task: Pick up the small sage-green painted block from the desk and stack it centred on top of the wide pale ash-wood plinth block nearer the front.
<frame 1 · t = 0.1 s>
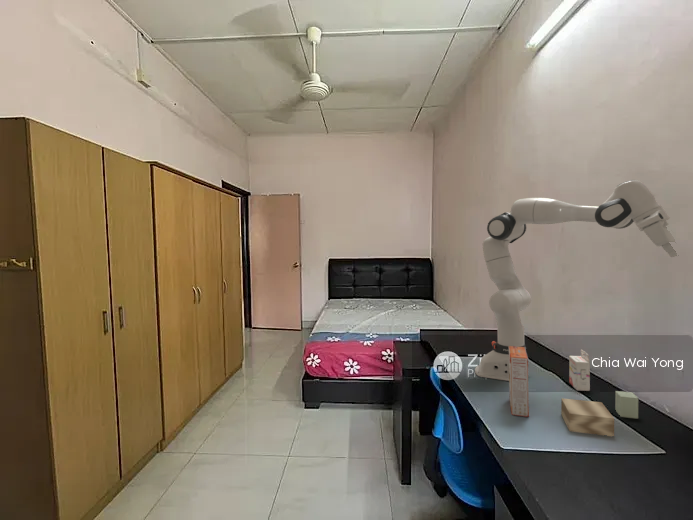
hand: (676, 255, 125), 54 cm above the table, tool tilted 30°, fingers open, 8 cm apart
ash plinth: (586, 425, 122), on the table
sage block: (626, 414, 129), on the table
ink cartridge box: (579, 387, 153), on the table
cracker box: (518, 408, 135), on the table
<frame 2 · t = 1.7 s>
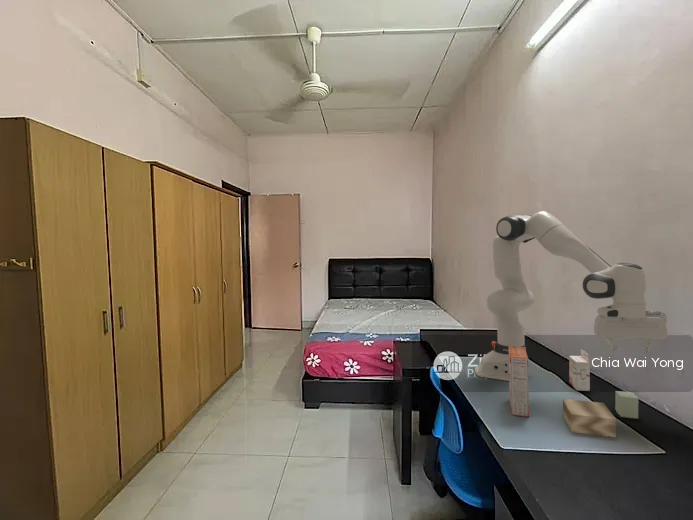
hand: (629, 351, 127), 22 cm above the table, tool pointing down, fingers open, 8 cm apart
nothing on the table moved.
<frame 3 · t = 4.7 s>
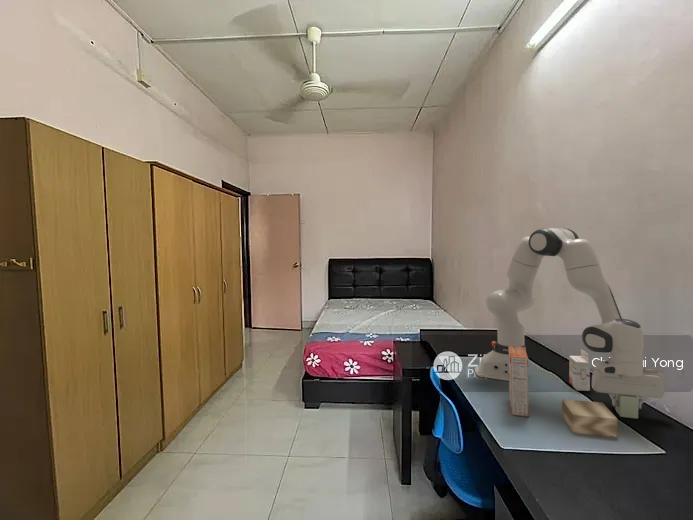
hand: (626, 406, 128), 3 cm above the table, tool pointing down, fingers closed on sage block, 5 cm apart
sage block: (626, 414, 129), on the table, touching gripper
everything else where it was.
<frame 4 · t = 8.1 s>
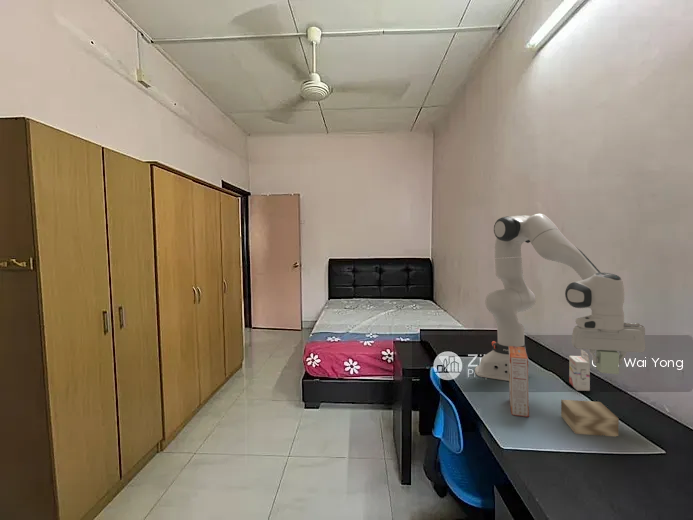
hand: (607, 363, 125), 19 cm above the table, tool pointing down, fingers closed on sage block, 5 cm apart
sage block: (607, 371, 125), point 16 cm above the table, touching gripper
everything else where it was.
when the fingers open (10 cm above the table, at t = 11.9 s): sage block drops 2 cm, resting on ash plinth.
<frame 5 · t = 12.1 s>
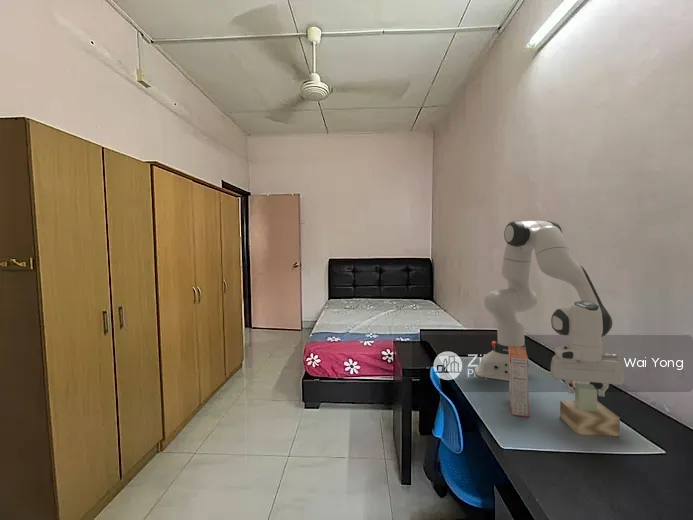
hand: (585, 394, 122), 10 cm above the table, tool pointing down, fingers open, 7 cm apart
ash plinth: (588, 426, 121), on the table, touching sage block
sage block: (585, 407, 122), point 6 cm above the table, touching ash plinth
everything else where it was.
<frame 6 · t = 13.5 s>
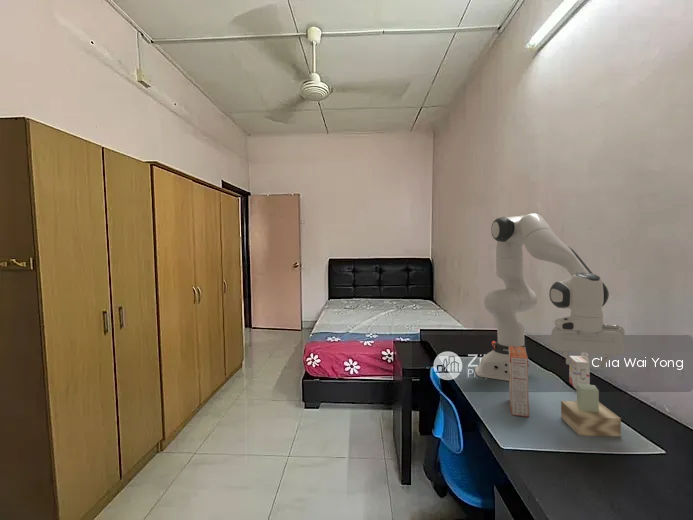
hand: (585, 365, 122), 20 cm above the table, tool pointing down, fingers open, 8 cm apart
nothing on the table moved.
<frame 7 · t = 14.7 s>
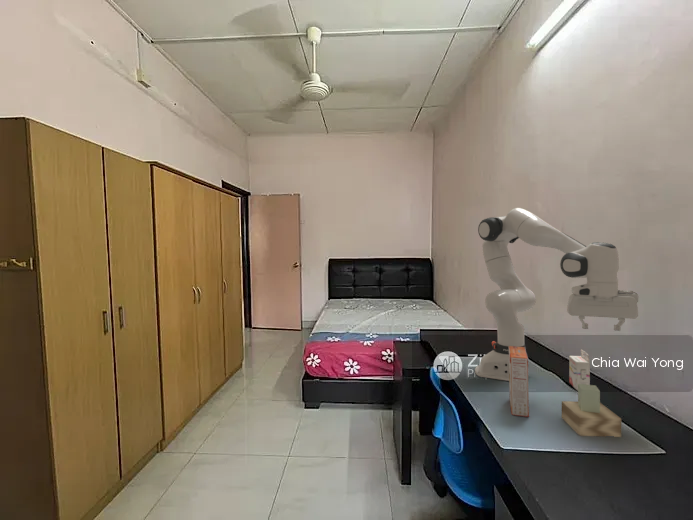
hand: (600, 329, 129), 29 cm above the table, tool pointing down, fingers open, 8 cm apart
ash plinth: (589, 427, 121), on the table
sage block: (588, 408, 121), point 6 cm above the table
everything else where it was.
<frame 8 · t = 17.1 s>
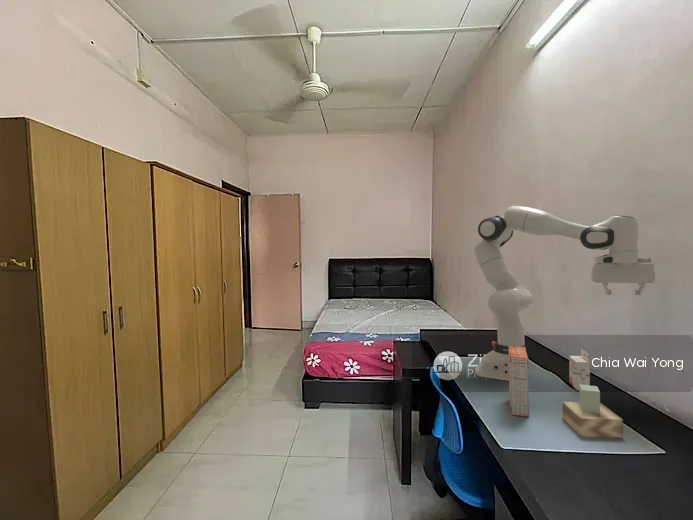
hand: (623, 294, 142), 39 cm above the table, tool pointing down, fingers open, 8 cm apart
nothing on the table moved.
at the end: sage block 0.7 cm off-centre on the ash plinth, point 6.0 cm above the ash plinth's base; sage block tilted 0°; sage block touching ash plinth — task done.
